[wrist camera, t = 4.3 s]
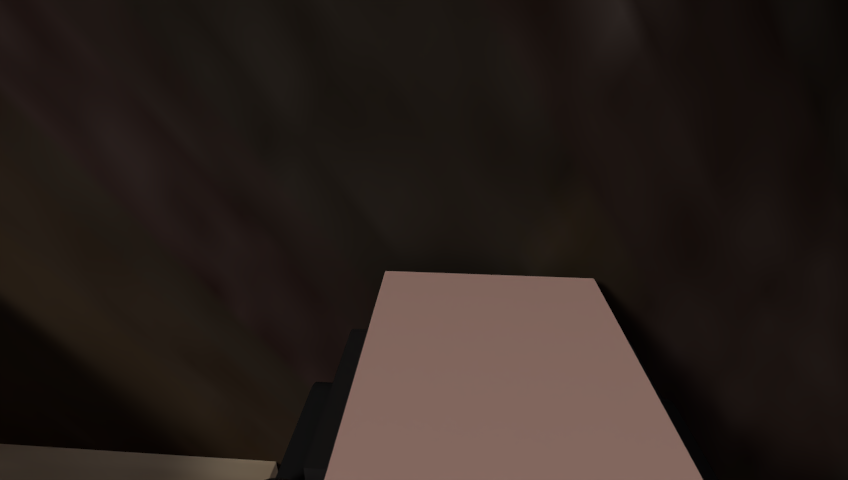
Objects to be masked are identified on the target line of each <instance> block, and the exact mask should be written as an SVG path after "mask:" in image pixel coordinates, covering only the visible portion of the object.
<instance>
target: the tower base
mask: <svg viewBox="0 0 848 480" xmlns="http://www.w3.org/2000/svg"><path fill="white" fill-rule="evenodd" d="M277 473H278V469H277V463H276V462H273V461H258V460H242V459H227V458H211V457H196V456H180V455H165V454H149V453H134V452H119V451H103V450H88V449H72V448H57V447H41V446H26V445H10V444H0V480H266V479H269V478H276V475H277Z"/></svg>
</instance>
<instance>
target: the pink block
mask: <svg viewBox="0 0 848 480" xmlns="http://www.w3.org/2000/svg"><path fill="white" fill-rule="evenodd" d="M324 480H703V479H702V477H701V475H700V473H699V471H698V469H697V468H696V466H695V464H694V462H693V460H692V458H691V457H690V455H689V453H688V451H687V449H686V447H685V446H684V444H683V442H682V440H681V438H680V436H679V434H678V433H677V431H676V429H675V427H674V425H673V423H672V422H671V420H670V418H669V416H668V414H667V412H666V411H665V409H664V407H663V405H662V403H661V401H660V399H659V398H658V396H657V394H656V392H655V390H654V388H653V387H652V385H651V383H650V381H649V379H648V377H647V376H646V374H645V372H644V370H643V368H642V366H641V364H640V363H639V361H638V359H637V357H636V355H635V353H634V352H633V350H632V348H631V346H630V344H629V342H628V341H627V339H626V337H625V335H624V333H623V331H622V330H621V328H620V326H619V324H618V322H617V320H616V318H615V317H614V315H613V313H612V311H611V309H610V307H609V306H608V304H607V302H606V300H605V298H604V296H603V295H602V293H601V291H600V289H599V287H598V285H597V283H596V282H595V280H594V279H592V278H565V277H537V276H509V275H481V274H453V273H425V272H398V271H385V274H384V277H383V281H382V284H381V288H380V291H379V294H378V298H377V301H376V305H375V308H374V312H373V315H372V318H371V322H370V325H369V329H368V332H367V335H366V339H365V342H364V346H363V349H362V353H361V356H360V359H359V363H358V366H357V370H356V373H355V376H354V380H353V383H352V387H351V390H350V394H349V397H348V400H347V404H346V407H345V411H344V414H343V417H342V421H341V424H340V428H339V431H338V435H337V438H336V441H335V445H334V448H333V452H332V455H331V458H330V462H329V465H328V469H327V472H326V476H325V479H324Z"/></svg>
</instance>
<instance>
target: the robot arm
mask: <svg viewBox="0 0 848 480" xmlns="http://www.w3.org/2000/svg"><path fill="white" fill-rule="evenodd" d="M367 332H368V330H364V329H352V330H351V332H350V335H349V338H348V341H347V344H346V347H345V350H344V353H343V355H342V358H341V361H340V364H339V367H338V370H337V373H336V376H335V378H334V381H333V383H327V382H316V383H314V385H313V387H312V388H311V391H310V393H309V396H308V398H307V401H306V403H305V406H304V408H303V411H302V413H301V416H300V418H299V421H298V423H297V426H296V428H295V431H294V433H293V436H292V438H291V441H290V443H289V446H288V448H287V451H286V453H285V455H284V458H283V460H282V463H281V465H280V468H279V470H278V473H277V475H276V478H269V479H266V480H324V479H325V476H326V472H327V469H328V465H329V462H330V458H331V455H332V452H333V448H334V445H335V441H336V438H337V435H338V431H339V428H340V424H341V421H342V417H343V414H344V411H345V407H346V404H347V400H348V397H349V394H350V390H351V387H352V383H353V380H354V376H355V373H356V370H357V366H358V363H359V359H360V356H361V353H362V349H363V346H364V342H365V339H366V335H367ZM628 342H629V344H630V346H631V348H632V350H633V352H634V353H635V355H636V357H637V359H638V361H639V363H640V364H641V366H642V368H643V370H644V372H645V374H646V376H647V377H648V379H649V381H650V383H651V385H652V387H653V388H654V390H655V392H656V394H657V396H658V398H659V399H660V401H661V403H662V405H663V407H664V409H665V411H666V412H667V414H668V416H669V418H670V420H671V422H672V423H673V425H674V427H675V429H676V431H677V433H678V434H679V436H680V438H681V440H682V442H683V444H684V446H685V447H686V449H687V451H688V453H689V455H690V457H691V458H692V460H693V462H694V464H695V466H696V468H697V469H698V471H699V473H700V475H701V477H702V479H703V480H718V479H717V477H716V475H715V473H714V472H713V470H712V468H711V466H710V465H709V463H708V461H707V460H706V458H705V456H704V454H703V453H702V451H701V449H700V447H699V446H698V444H697V442H696V440H695V439H694V437H693V435H692V434H691V432H690V430H689V428H688V427H687V425H686V423H685V421H684V420H683V418H682V416H681V415H680V413H679V411H678V409H677V408H676V406H675V405H674V403H673V402H672V401H670V400H669V399H663V398H662V397H661V395H660V393H659V391H658V389H657V388H656V386H655V384H654V382H653V380H652V379H651V377H650V375H649V373H648V371H647V370H646V368H645V366H644V364H643V362H642V361H641V359H640V357H639V355H638V353H637V352H636V350H635V348H634V346H633V344H632V343H631V342H630V341H628Z"/></svg>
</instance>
